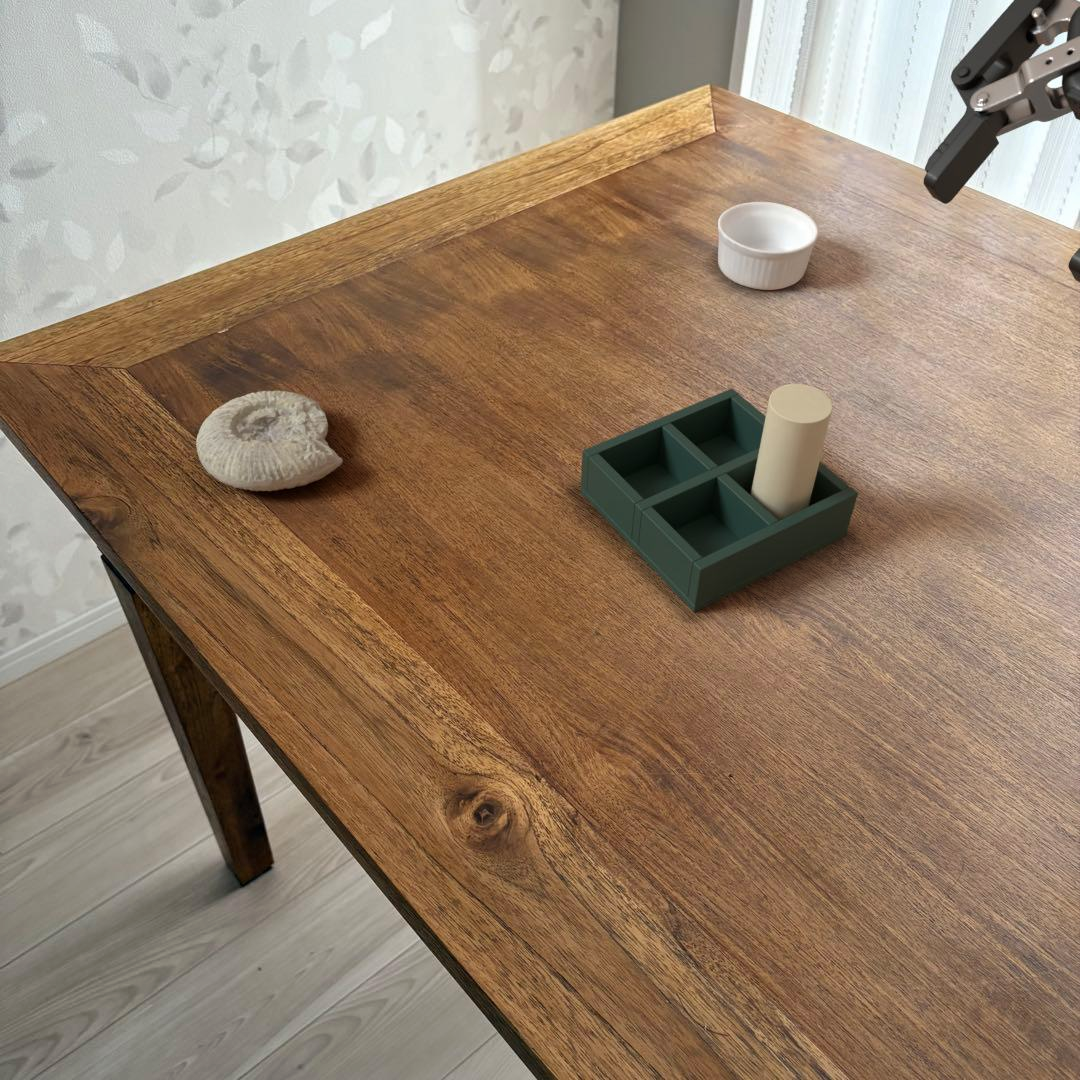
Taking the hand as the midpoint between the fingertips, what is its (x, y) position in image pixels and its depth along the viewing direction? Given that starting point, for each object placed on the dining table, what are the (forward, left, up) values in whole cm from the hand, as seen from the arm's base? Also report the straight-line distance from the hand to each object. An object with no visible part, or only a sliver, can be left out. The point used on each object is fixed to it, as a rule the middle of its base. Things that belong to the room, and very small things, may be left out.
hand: (1002, 233), depth 51 cm
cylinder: (+11, -2, -28) cm, 30 cm away
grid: (+14, +2, -29) cm, 32 cm away
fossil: (+36, +26, -29) cm, 53 cm away
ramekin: (+37, -22, -29) cm, 52 cm away
